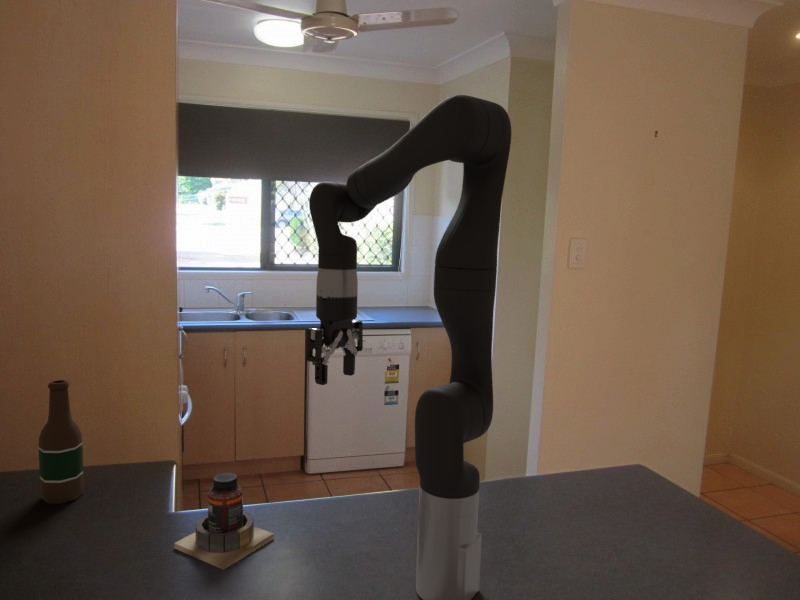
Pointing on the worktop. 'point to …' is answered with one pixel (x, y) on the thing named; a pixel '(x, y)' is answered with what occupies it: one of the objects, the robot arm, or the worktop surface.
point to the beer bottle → (60, 450)
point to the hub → (223, 542)
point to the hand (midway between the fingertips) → (335, 379)
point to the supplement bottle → (225, 504)
